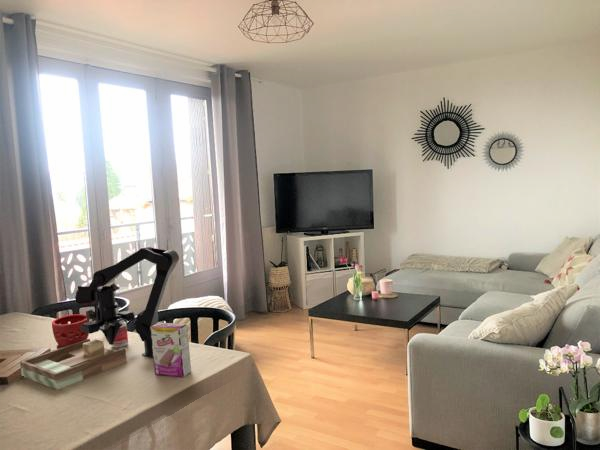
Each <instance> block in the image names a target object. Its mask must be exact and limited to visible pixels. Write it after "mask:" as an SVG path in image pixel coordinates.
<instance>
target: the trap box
mask: <svg viewBox="0 0 600 450" xmlns="http://www.w3.org/2000/svg"><path fill="white" fill-rule="evenodd" d="M89 341H91V339H90V338H87V340H84V341H81V342H78V343H75V344H72V345H69V346H66V347H63V348H60V349H57V348H56V349H55V350H54V349H53V350H51V351H48V352H45V353H42V354H40V355H36V356H33V357H30V358H27V359H24V360H21V361H19V364H20V365H19V366H20V371H21V372H20V373H21V376H22V377H23V376H24V378H25V379H28V378H29V380H31V381H33V382H36V383H38V382H39V384H41V385H44V386H46V387H48V388H51V389H54V390H56V391H58V390H61V389H63V388H66V387H69V386H70V385H74V384H76V383H79V382H81V381H83V380H86V379H89V378H90V377H94V376H97V375H98V374H101V373H103V372H106V371H108V370H110V369H113V368H116V367H118V366H121V365H123V364H126V363H128V362H127V361H128V360H127V352H126V348H125V347H121V348H120V349H118V350H113V349H109V348H105V347H104V351H105V352H104V353H101V354H98V355H96V356H93V357H90V356H87V355H84V352H83V343H86V342H89Z"/></svg>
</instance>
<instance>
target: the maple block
mask: <svg viewBox="0 0 600 450" xmlns="http://www.w3.org/2000/svg"><path fill="white" fill-rule="evenodd" d="M104 348H105V344H104V341H103V340H101V339H96V338H95V339H92V340H90V341H89V342H86V343H83V352H84V355H87V356H90V357H93V356H96V355H98V354H101V353H104V352H105V351H104Z"/></svg>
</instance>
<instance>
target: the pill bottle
mask: <svg viewBox="0 0 600 450" xmlns="http://www.w3.org/2000/svg"><path fill="white" fill-rule="evenodd" d="M120 324H122V326H120V328H119V330H118V332H117V335H116V337H115V340H114V343H113V344H112V345H111V347H112V348H124V347H126V346H127V345H128V344H129V335H128V334H129V333H128V328H127V327H128V325H127V322H126V321H125V319H124V320H121V321H120Z"/></svg>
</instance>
